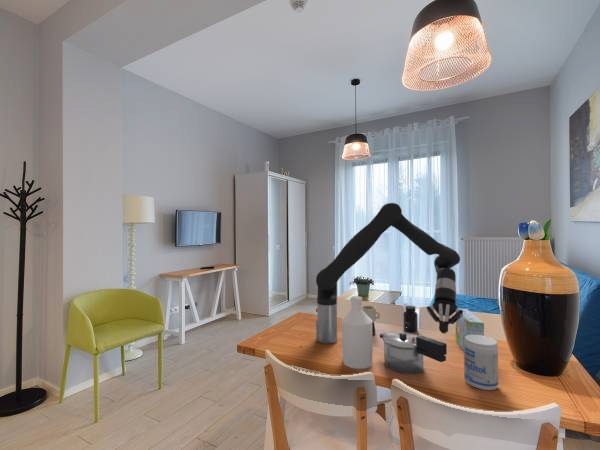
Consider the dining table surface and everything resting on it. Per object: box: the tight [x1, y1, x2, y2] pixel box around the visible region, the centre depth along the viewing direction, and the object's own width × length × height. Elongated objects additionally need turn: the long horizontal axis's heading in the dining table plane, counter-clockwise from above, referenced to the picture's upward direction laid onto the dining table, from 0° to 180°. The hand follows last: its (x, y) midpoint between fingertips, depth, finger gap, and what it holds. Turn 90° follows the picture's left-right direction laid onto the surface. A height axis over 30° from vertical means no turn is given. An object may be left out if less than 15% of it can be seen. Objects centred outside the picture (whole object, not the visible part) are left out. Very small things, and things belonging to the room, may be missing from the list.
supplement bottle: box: [402, 305, 419, 333], centre depth 148 cm, size 7×7×12 cm
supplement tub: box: [463, 335, 499, 391], centre depth 96 cm, size 10×10×15 cm
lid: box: [382, 331, 448, 356], centre depth 106 cm, size 24×15×4 cm, turn 33°
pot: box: [379, 332, 447, 375], centre depth 108 cm, size 27×14×9 cm, turn 32°
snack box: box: [455, 308, 485, 352], centre depth 123 cm, size 21×6×15 cm, turn 166°
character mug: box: [362, 304, 381, 335], centre depth 144 cm, size 11×7×13 cm, turn 60°
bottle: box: [341, 295, 373, 370], centre depth 113 cm, size 12×12×25 cm
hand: (443, 332), depth 105 cm, fingers closed
